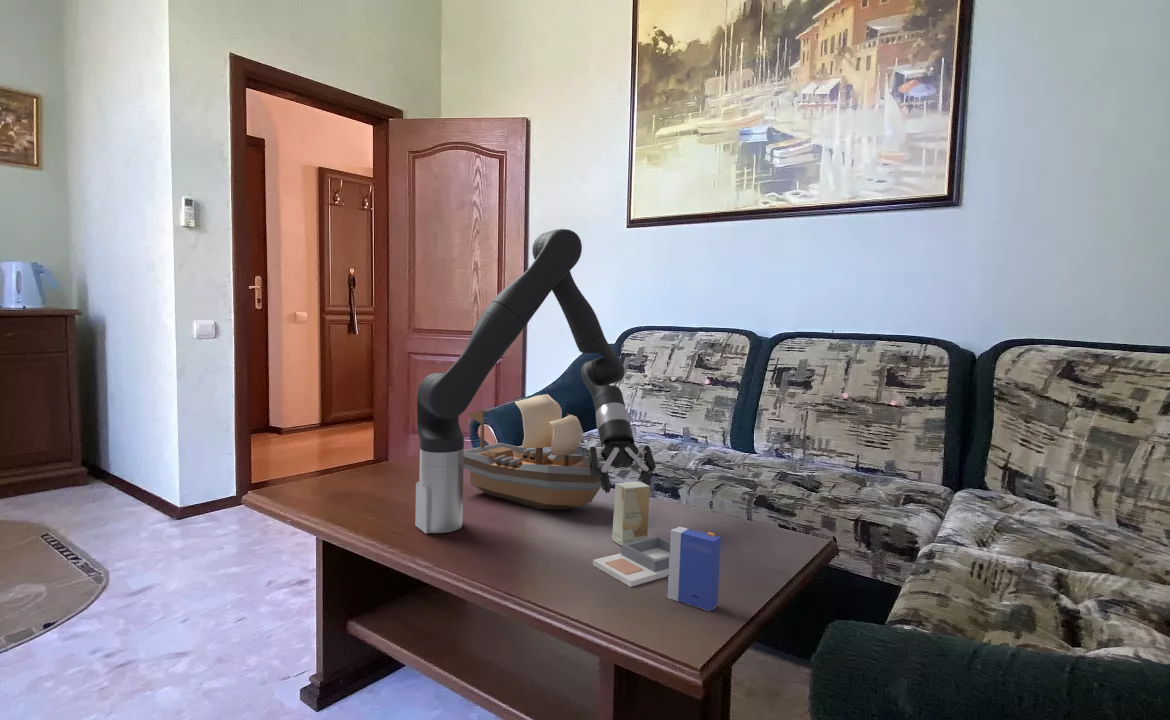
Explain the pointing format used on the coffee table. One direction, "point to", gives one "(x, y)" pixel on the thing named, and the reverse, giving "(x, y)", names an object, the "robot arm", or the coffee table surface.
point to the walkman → (694, 567)
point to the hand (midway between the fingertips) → (627, 490)
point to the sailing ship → (535, 460)
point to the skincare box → (630, 512)
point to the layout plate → (638, 561)
